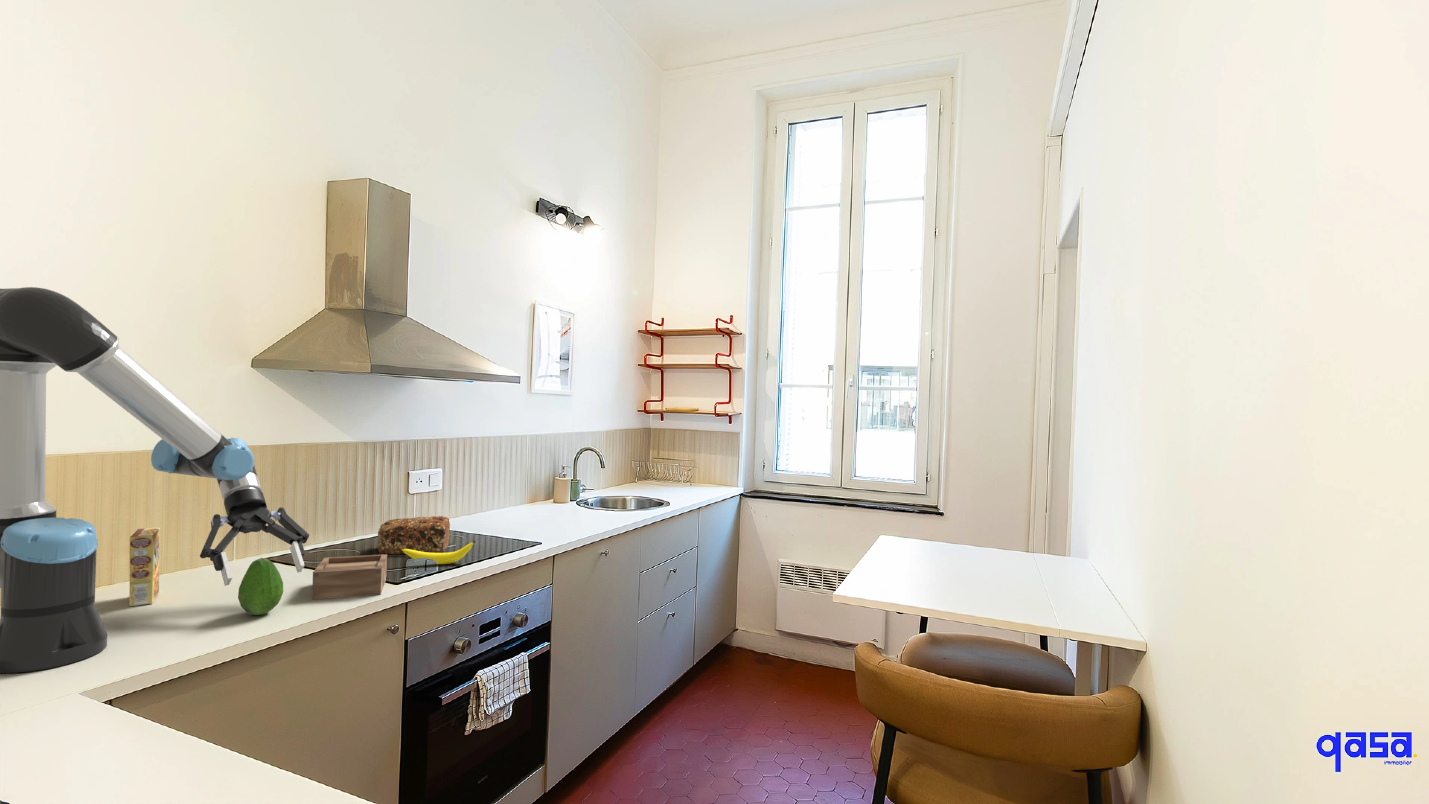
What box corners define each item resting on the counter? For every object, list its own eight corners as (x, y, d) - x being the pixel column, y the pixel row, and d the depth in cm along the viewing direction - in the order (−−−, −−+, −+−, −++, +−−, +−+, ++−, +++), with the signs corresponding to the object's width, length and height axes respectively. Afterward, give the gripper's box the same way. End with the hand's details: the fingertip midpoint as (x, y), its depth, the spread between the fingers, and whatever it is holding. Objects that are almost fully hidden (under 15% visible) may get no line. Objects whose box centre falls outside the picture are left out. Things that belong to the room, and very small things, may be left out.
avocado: (249, 623, 134) (251, 564, 134) (230, 615, 138) (231, 558, 138) (290, 612, 141) (292, 556, 141) (271, 605, 145) (272, 551, 145)
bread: (450, 545, 205) (451, 513, 205) (444, 554, 195) (445, 520, 195) (385, 547, 201) (386, 514, 201) (375, 555, 191) (376, 521, 191)
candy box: (153, 604, 143) (154, 534, 143) (127, 607, 141) (129, 536, 141) (159, 593, 151) (161, 526, 150) (135, 596, 148) (136, 528, 148)
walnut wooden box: (380, 594, 155) (381, 568, 155) (312, 599, 150) (312, 572, 150) (386, 578, 168) (387, 554, 168) (323, 582, 163) (324, 557, 163)
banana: (401, 565, 180) (402, 542, 180) (474, 561, 187) (475, 539, 187) (400, 568, 178) (401, 545, 178) (475, 564, 184) (475, 541, 184)
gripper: (298, 500, 162) (323, 573, 153) (171, 513, 143) (190, 597, 134) (308, 481, 159) (333, 554, 150) (178, 492, 139) (199, 577, 130)
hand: (266, 575), depth 142 cm, fingers open, 13 cm apart
